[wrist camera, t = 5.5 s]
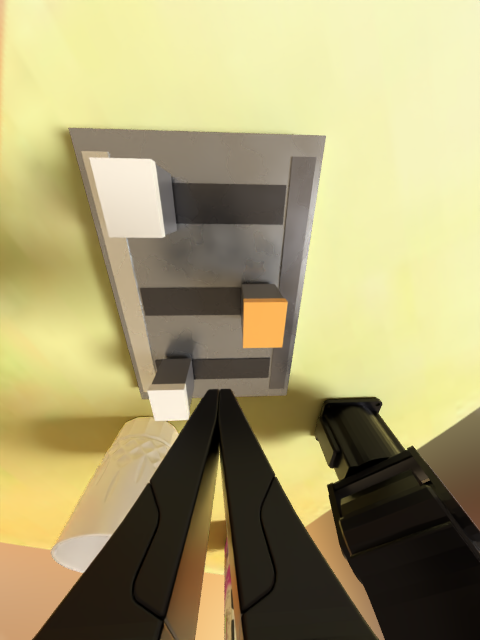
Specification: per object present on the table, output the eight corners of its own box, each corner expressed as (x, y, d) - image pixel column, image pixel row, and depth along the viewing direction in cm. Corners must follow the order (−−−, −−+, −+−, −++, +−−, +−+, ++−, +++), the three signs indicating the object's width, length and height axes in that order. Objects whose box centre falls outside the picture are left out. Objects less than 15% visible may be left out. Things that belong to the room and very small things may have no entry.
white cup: (101, 420, 24) (25, 546, 15) (169, 405, 23) (131, 527, 14) (134, 460, 27) (89, 581, 18) (193, 448, 27) (176, 567, 18)
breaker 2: (192, 358, 18) (184, 389, 15) (195, 385, 19) (188, 419, 16) (161, 358, 18) (147, 390, 15) (167, 386, 19) (154, 420, 16)
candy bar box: (250, 546, 41) (261, 731, 26) (224, 546, 41) (221, 735, 26) (259, 518, 36) (279, 728, 21) (229, 519, 36) (230, 732, 21)
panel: (316, 143, 13) (326, 135, 12) (283, 384, 22) (286, 396, 21) (85, 136, 13) (67, 127, 11) (147, 387, 22) (141, 400, 20)
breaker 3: (275, 283, 15) (287, 302, 12) (272, 321, 17) (282, 347, 14) (240, 283, 15) (244, 302, 12) (240, 321, 17) (243, 348, 13)
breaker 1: (171, 172, 12) (150, 158, 9) (177, 231, 14) (162, 237, 10) (126, 172, 12) (89, 157, 9) (137, 231, 13) (109, 237, 10)
